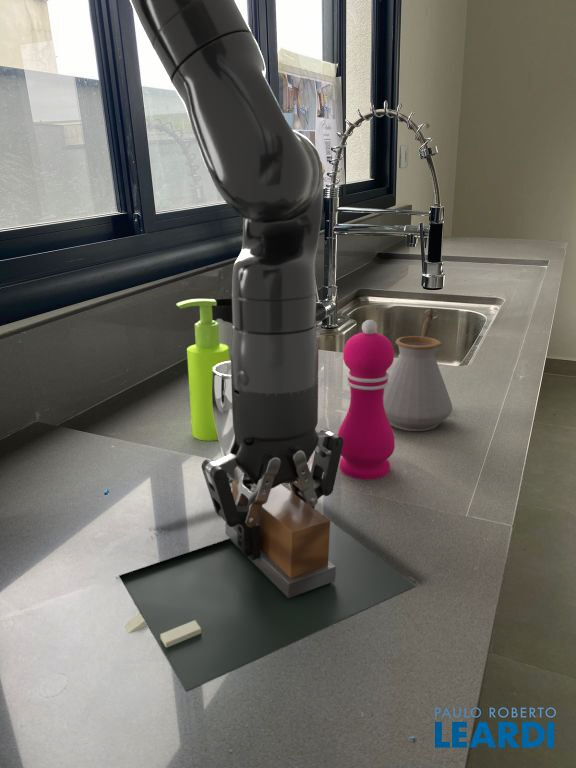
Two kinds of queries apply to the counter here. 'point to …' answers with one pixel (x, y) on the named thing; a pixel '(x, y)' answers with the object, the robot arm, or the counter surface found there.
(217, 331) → the soap dispenser
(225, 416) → the beer glass
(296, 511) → the eraser
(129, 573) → the chalkboard
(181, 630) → the off-white small bar
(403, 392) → the coffee pot
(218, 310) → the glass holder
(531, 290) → the counter surface
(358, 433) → the pepper mill
